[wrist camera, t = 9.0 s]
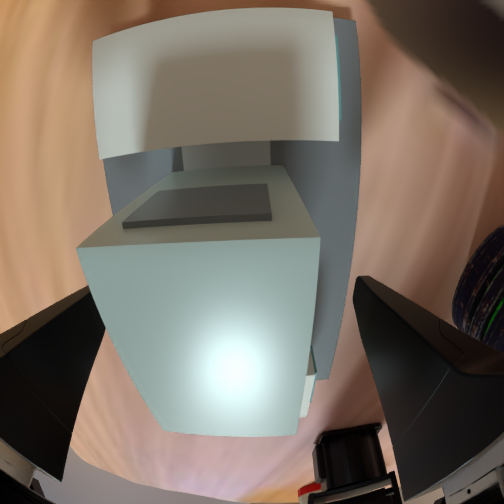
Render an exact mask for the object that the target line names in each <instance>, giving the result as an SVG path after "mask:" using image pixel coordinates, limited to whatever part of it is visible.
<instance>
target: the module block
mask: <svg viewBox="0 0 504 504" xmlns="http://www.w3.org/2000/svg"><path fill="white" fill-rule="evenodd" d="M320 238H321V237H320V235H319V233H318V231H317V229H316V227H315V225H314V223H313V221H312V219H311V217H310V215H309V213H308V211H307V209H306V207H305V205H304V203H303V201H302V200H301V198H300V196H299V194H298V192H297V190H296V188H295V186H294V184H293V183H292V181H291V179H290V177H289V175H288V173H287V171H286V170H285V168H284V166H283V165H264V166H241V167H224V168H210V169H198V170H188V171H178V172H171V173H170V174H168V175H167V176H166V177H164V178H163V179H161V180H160V181H159V182H157V183H156V184H154V185H153V186H152V187H150V188H149V189H148V190H146V191H145V192H144V193H142V194H141V195H140V196H138V197H137V198H136V199H134V200H133V201H132V202H130V203H129V204H128V205H126V206H125V207H124V208H123V209H121V210H120V211H119V212H118V213H116V214H115V215H114V216H113V217H111V218H110V219H109V220H108V221H107V222H105V223H104V224H103V225H102V226H101V227H99V228H98V229H97V230H96V231H95V232H94V233H92V234H91V235H90V236H89V237H88V238H87V239H85V240H84V241H83V242H82V243H81V244H80V245H79V246H78V247H77V248H76V250H77V254H78V257H79V260H80V263H81V266H82V269H83V272H84V275H85V277H86V280H87V283H88V286H89V288H90V291H91V294H92V296H93V299H94V301H95V304H96V306H97V309H98V311H99V313H100V316H101V318H102V320H103V323H104V325H105V327H106V329H107V332H108V334H109V336H110V338H111V340H112V342H113V344H114V346H115V348H116V350H117V352H118V354H119V356H120V358H121V360H122V362H123V364H124V366H125V368H126V370H127V372H128V374H129V375H130V377H131V379H132V381H133V383H134V384H135V386H136V388H137V390H138V391H139V393H140V395H141V396H142V398H143V400H144V401H145V403H146V405H147V406H148V408H149V409H150V411H151V413H152V414H153V416H154V417H155V419H156V420H157V422H158V423H159V425H160V426H161V428H162V429H163V431H170V432H178V433H187V434H198V435H212V436H238V437H260V436H286V435H296V433H297V428H298V422H299V417H300V411H301V405H302V400H303V394H304V387H305V381H306V374H307V367H308V360H309V353H310V345H311V338H312V329H313V321H314V311H315V302H316V291H317V280H318V268H319V254H320Z"/></svg>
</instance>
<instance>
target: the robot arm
mask: <svg viewBox="0 0 504 504" xmlns="http://www.w3.org/2000/svg"><path fill="white" fill-rule="evenodd" d="M353 304H354V309H355V313H356V317H357V322H358V327H359V331H360V336H361V339H362V343H363V346H364V349H365V352H366V355H367V358H368V361H369V364H370V367H371V371H372V374H373V377H374V380H375V384H376V387H377V390H378V394H379V397H380V401H381V404H382V408H383V411H384V415H385V419H386V422H387V426H388V430H389V434H390V438H391V442H392V445H393V451H394V456H395V460H396V465H397V469H398V474H399V479H400V484H401V489H402V494H403V499H404V501H405V502H406V501H409V500H411V499H414V498H417V497H420V496H422V495H425V494H427V493H429V492H432V491H434V490H436V489H439V488H441V487H442V489H443V493H444V497H442V498H440V499H438V500H436V501H435V502H434V504H504V353H502V352H500V351H497V350H496V349H494V348H492V347H490V346H488V345H486V344H484V343H483V342H481V341H479V340H477V339H475V338H473V337H471V336H470V335H468V334H466V333H464V332H462V331H460V330H459V329H457V328H455V327H454V326H452V325H450V324H449V323H447V322H445V321H444V320H442V319H439V317H437V316H436V315H434V314H432V313H431V312H429V311H428V310H426V309H424V308H423V307H421V306H419V305H418V304H416V303H414V302H413V301H411V300H409V299H408V298H406V297H404V296H403V295H401V294H399V293H398V292H396V291H394V290H392V289H391V288H389V287H387V286H386V285H384V284H382V283H380V282H379V281H377V280H375V279H373V278H372V277H370V276H358V277H357V278H356V282H355V288H354V293H353ZM105 329H106V327H105V325H104V323H103V320H102V318H101V316H100V313H99V311H98V309H97V306H96V304H95V301H94V299H93V296H92V294H91V291H90V288H89V286H86V287H84V288H82V289H80V290H78V291H77V292H75V293H73V294H71V295H69V296H67V297H65V298H64V299H62V300H60V301H58V302H56V303H55V304H53V305H51V306H49V307H47V308H46V309H44V310H42V311H40V312H39V313H37V314H35V315H33V316H31V317H30V318H28V319H27V320H24V321H23V322H21V323H19V324H18V325H16V326H14V327H12V328H11V329H9V330H7V331H5V332H3V333H1V334H0V504H55V503H53V502H52V501H50V500H48V499H47V498H45V496H44V493H43V491H42V489H41V486H40V484H39V481H38V480H37V479H35V478H33V476H34V473H35V471H36V470H38V471H40V472H42V473H44V474H45V475H47V476H49V477H51V478H53V479H55V480H58V481H59V482H62V479H63V473H64V468H65V463H66V459H67V454H68V449H69V445H70V441H71V437H72V432H73V429H74V425H75V421H76V417H77V414H78V410H79V407H80V404H81V400H82V397H83V394H84V391H85V387H86V384H87V381H88V378H89V375H90V372H91V369H92V367H93V364H94V361H95V358H96V355H97V353H98V350H99V347H100V345H101V342H102V339H103V336H104V333H105ZM381 428H382V424H381V423H378V424H374V425H369V426H364V427H358V428H353V429H346V430H340V431H333V432H326V433H323V434H322V435H321V437H320V440H319V442H318V444H317V445H316V446H315V448H314V450H313V453H312V456H313V465H314V475H315V482H316V483H317V484H318V483H321V491H322V492H319V493H309V496H308V503H307V504H402V500H401V496H400V492H399V487H398V483H397V479H396V475H395V471H391V472H389V473H388V474H387V471H386V466H385V462H384V458H383V454H382V450H381V446H380V442H379V438H378V433H379V431H380V430H381ZM390 484H391V486H392V487H390V488H387V489H385V487H384V486H387V485H390ZM381 487H384V488H381ZM378 488H381V489H378ZM375 489H378V490H375ZM372 490H375V491H372ZM369 491H372V492H369ZM365 492H369V493H365ZM362 493H365V494H362ZM358 494H362V495H358ZM354 495H358V496H354ZM351 496H354V497H351ZM347 497H350V498H347ZM342 498H346V499H342ZM338 499H342V500H338ZM334 500H338V501H334ZM329 501H333V502H329ZM326 502H329V503H326Z"/></svg>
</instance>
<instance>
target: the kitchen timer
mask: <svg viewBox="0 0 504 504" xmlns="http://www.w3.org/2000/svg"><path fill="white" fill-rule="evenodd" d="M372 491H373V490H372ZM372 491H369V492H372ZM319 492H322V491H321V483H318V484H317V483H314V484H311V485H307V486H305V487H303V488H300V489H299V490H298V498H299V502H300V504H307V503H308V496H309V493H319ZM369 492H365V493H369ZM365 493H362V494H365ZM362 494H358V495H362ZM358 495H354V496H358ZM354 496H351V497H354ZM347 498H350V497H347ZM342 499H346V498H342ZM342 499H338V500H342ZM338 500H334V501H338ZM329 502H333V501H329ZM329 502H326V503H329Z"/></svg>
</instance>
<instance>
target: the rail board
mask: <svg viewBox="0 0 504 504" xmlns="http://www.w3.org/2000/svg"><path fill="white" fill-rule="evenodd" d="M92 78H93V101H94V115H95V126H96V136H97V145H98V152H99V160H100V159H103V162H104V169H105V175H106V181H107V187H108V193H109V198H110V203H111V208H112V213H113V216H114V215H115V214H116V213H118V212H119V211H120V210H121V209H123V208H124V207H125V206H126V205H128V204H129V203H130V202H132V201H133V200H134V199H136V198H137V197H138V196H140V195H141V194H142V193H144V192H145V191H146V190H148V189H149V188H150V187H152V186H153V185H154V184H156V183H157V182H159V181H160V180H161V179H163V178H164V177H166V176H167V175H168V174H170V173H171V172H178V171H188V170H198V169H210V168H224V167H241V166H264V165H283V166H284V168H285V170H286V171H287V173H288V175H289V177H290V179H291V181H292V183H293V184H294V186H295V188H296V190H297V192H298V194H299V196H300V198H301V200H302V201H303V203H304V205H305V207H306V209H307V211H308V213H309V215H310V217H311V219H312V221H313V223H314V225H315V227H316V229H317V231H318V233H319V235H320V237H321V238H320V254H319V268H318V280H317V291H316V302H315V311H314V321H313V329H312V338H311V345H310V353H309V360H308V367H307V374H306V381H305V387H304V394H303V400H302V405H301V411H300V417H306V416H307V412H308V408H309V403H310V402H311V400H312V396H313V391H314V386H315V381H316V380H324V379H329V375H330V371H331V367H332V363H333V359H334V354H335V350H336V346H337V341H338V336H339V331H340V327H341V322H342V316H343V311H344V306H345V300H346V294H347V288H348V282H349V276H350V269H351V262H352V254H353V247H354V238H355V229H356V220H357V209H358V197H359V183H360V164H361V124H362V116H361V78H360V61H359V48H358V37H357V27H356V21H353V20H347V19H340V18H333V13H332V11H325V10H315V9H301V8H240V9H227V10H217V11H209V12H201V13H194V14H188V15H183V16H177V17H172V18H167V19H163V20H158V21H154V22H150V23H146V24H143V25H139V26H135V27H132V28H129V29H125V30H122V31H119V32H116V33H113V34H110V35H107V36H104V37H102V38H99V39H96V40H94V41H93V46H92Z"/></svg>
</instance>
